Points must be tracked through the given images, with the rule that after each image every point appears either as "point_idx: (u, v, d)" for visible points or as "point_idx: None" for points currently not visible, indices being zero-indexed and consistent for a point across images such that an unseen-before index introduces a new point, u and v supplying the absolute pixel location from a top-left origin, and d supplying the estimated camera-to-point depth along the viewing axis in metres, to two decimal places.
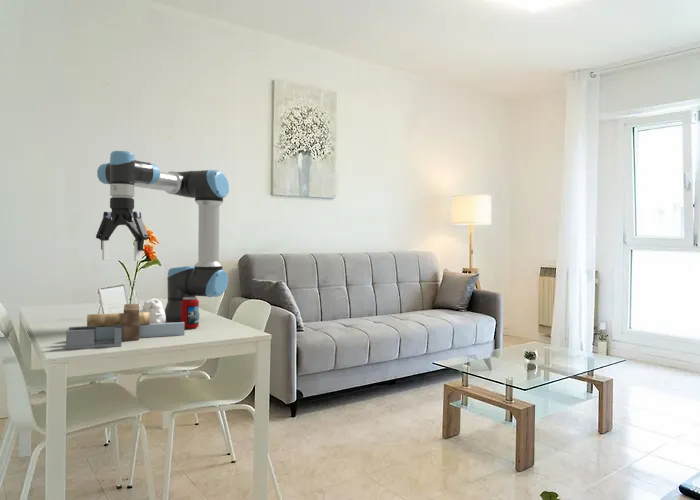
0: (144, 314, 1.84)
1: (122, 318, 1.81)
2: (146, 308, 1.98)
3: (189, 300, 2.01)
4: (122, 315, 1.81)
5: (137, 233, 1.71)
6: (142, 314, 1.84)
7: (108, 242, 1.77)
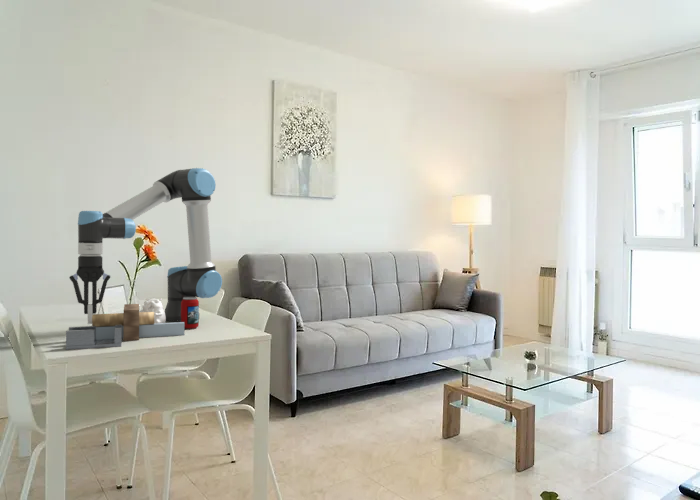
0: (149, 314, 1.85)
1: None
2: (146, 308, 1.98)
3: (189, 300, 2.01)
4: None
5: (96, 296, 1.79)
6: (147, 314, 1.84)
7: None
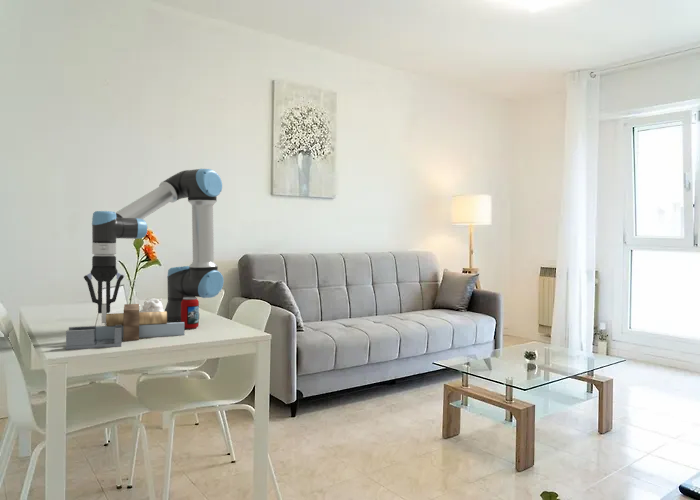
0: (162, 313, 1.86)
1: (140, 317, 1.83)
2: (146, 308, 1.98)
3: (189, 300, 2.01)
4: (140, 314, 1.83)
5: None
6: (160, 313, 1.86)
7: None
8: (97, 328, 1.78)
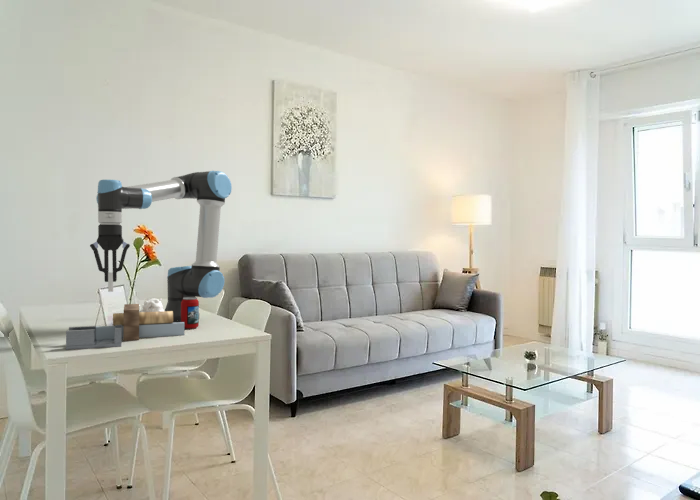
0: (168, 312, 1.88)
1: (147, 315, 1.84)
2: (146, 308, 1.98)
3: (189, 300, 2.01)
4: (146, 313, 1.85)
5: (116, 265, 1.81)
6: (166, 312, 1.88)
7: None
8: (97, 328, 1.78)
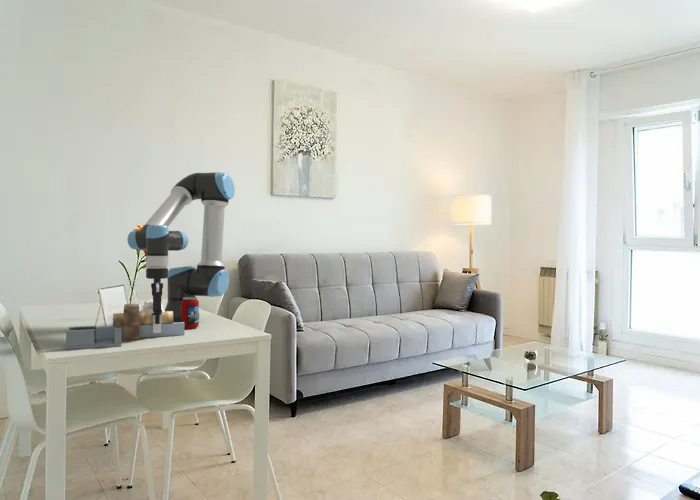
0: (168, 313, 1.87)
1: (147, 316, 1.84)
2: (146, 308, 1.98)
3: (189, 300, 2.01)
4: (147, 314, 1.84)
5: None
6: (166, 313, 1.87)
7: None
8: (97, 328, 1.78)
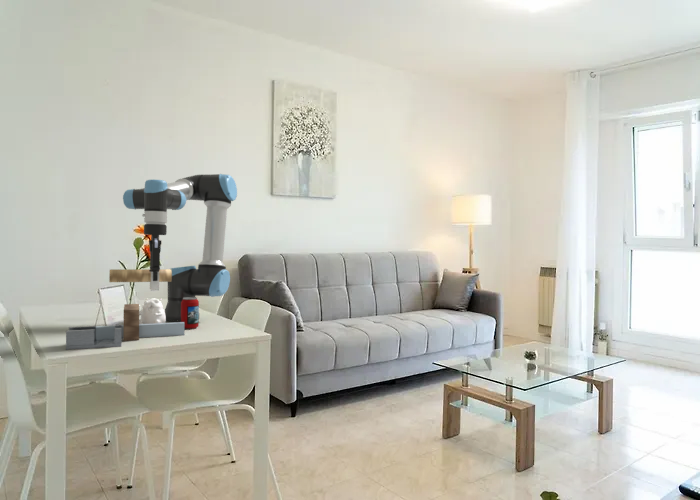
0: (166, 270, 1.82)
1: (144, 273, 1.79)
2: (146, 308, 1.98)
3: (189, 300, 2.01)
4: (144, 271, 1.79)
5: None
6: (164, 270, 1.82)
7: None
8: (97, 328, 1.78)
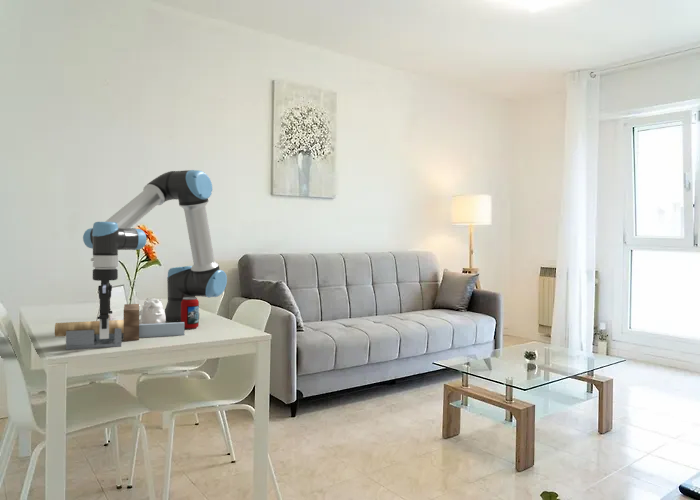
0: (117, 322, 1.71)
1: (93, 327, 1.68)
2: (146, 308, 1.98)
3: (189, 300, 2.01)
4: (93, 323, 1.68)
5: None
6: (115, 322, 1.71)
7: None
8: None
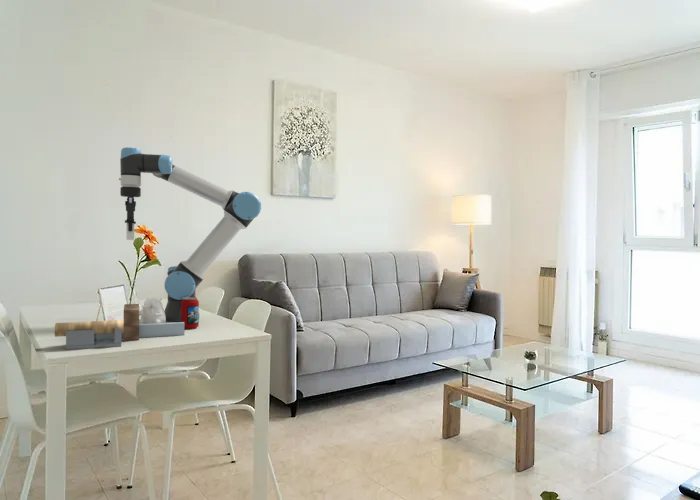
0: (117, 322, 1.71)
1: (93, 327, 1.68)
2: (146, 308, 1.98)
3: (189, 300, 2.01)
4: (93, 323, 1.68)
5: None
6: (115, 322, 1.71)
7: None
8: None
